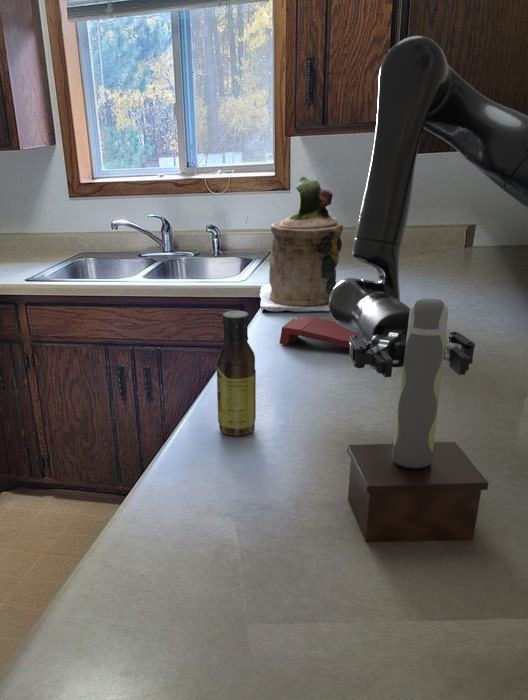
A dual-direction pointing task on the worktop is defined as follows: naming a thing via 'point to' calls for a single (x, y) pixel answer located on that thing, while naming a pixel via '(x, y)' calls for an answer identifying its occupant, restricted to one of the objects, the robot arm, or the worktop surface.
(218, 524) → the worktop surface
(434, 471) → the box
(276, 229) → the cookie jar
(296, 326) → the red bent slab
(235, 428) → the sauce bottle
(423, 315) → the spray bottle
